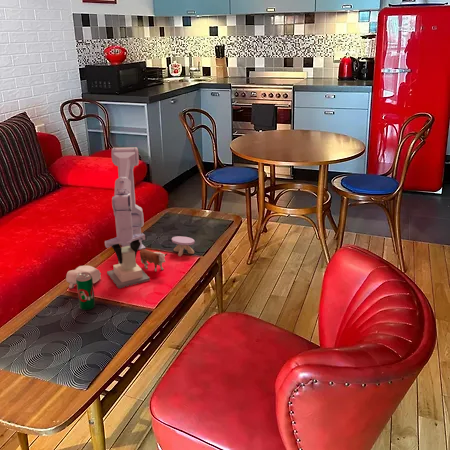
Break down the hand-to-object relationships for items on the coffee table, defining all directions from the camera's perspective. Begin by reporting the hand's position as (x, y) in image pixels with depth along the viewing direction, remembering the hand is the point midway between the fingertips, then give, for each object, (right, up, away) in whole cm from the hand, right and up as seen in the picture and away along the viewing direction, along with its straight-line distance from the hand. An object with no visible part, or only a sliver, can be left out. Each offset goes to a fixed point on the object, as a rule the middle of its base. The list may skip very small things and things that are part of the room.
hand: (126, 260), depth 184 cm
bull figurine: (+9, -4, +9) cm, 13 cm away
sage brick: (0, -2, +1) cm, 2 cm away
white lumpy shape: (-15, -9, -4) cm, 18 cm away
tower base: (0, -6, +3) cm, 7 cm away
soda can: (-10, -14, -17) cm, 24 cm away
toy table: (+19, +2, +23) cm, 30 cm away
